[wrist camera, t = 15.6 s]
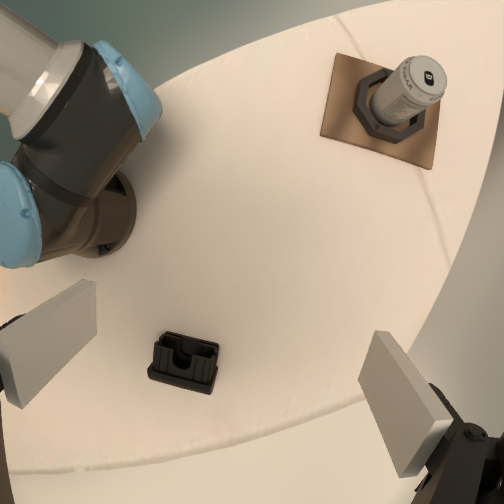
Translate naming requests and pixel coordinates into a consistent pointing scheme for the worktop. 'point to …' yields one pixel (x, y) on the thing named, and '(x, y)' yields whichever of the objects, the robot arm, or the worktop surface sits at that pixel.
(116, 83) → the robot arm
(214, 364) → the end cap
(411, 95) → the energy drink can
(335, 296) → the worktop surface
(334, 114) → the wooden can holder
